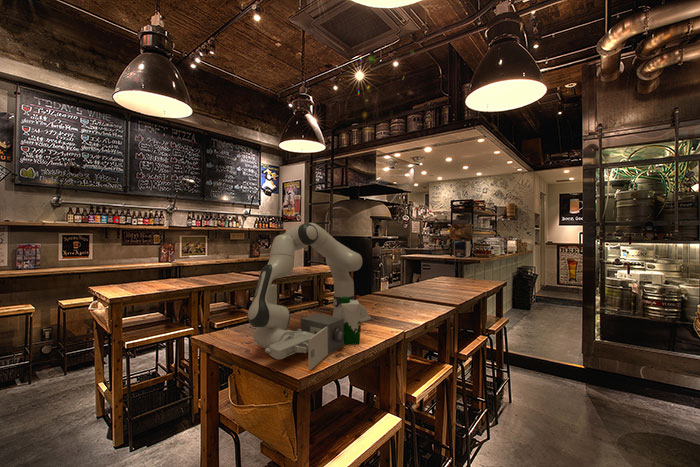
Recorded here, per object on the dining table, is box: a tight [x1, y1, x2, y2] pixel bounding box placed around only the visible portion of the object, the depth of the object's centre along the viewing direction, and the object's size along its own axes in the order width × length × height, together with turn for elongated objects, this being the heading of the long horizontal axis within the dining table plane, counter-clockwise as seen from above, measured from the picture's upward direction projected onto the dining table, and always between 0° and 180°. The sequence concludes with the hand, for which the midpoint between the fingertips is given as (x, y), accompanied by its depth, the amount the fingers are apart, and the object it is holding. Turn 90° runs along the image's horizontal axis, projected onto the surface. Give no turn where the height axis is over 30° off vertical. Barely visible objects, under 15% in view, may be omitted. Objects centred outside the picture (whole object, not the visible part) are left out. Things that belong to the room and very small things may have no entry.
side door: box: [307, 326, 330, 371], centre depth 118 cm, size 16×1×11 cm, turn 160°
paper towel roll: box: [267, 283, 278, 305], centre depth 169 cm, size 7×6×21 cm
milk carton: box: [340, 297, 362, 346], centre depth 140 cm, size 9×9×20 cm
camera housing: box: [300, 313, 345, 355], centre depth 134 cm, size 18×10×12 cm, turn 52°
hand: (308, 349), depth 116 cm, fingers closed
